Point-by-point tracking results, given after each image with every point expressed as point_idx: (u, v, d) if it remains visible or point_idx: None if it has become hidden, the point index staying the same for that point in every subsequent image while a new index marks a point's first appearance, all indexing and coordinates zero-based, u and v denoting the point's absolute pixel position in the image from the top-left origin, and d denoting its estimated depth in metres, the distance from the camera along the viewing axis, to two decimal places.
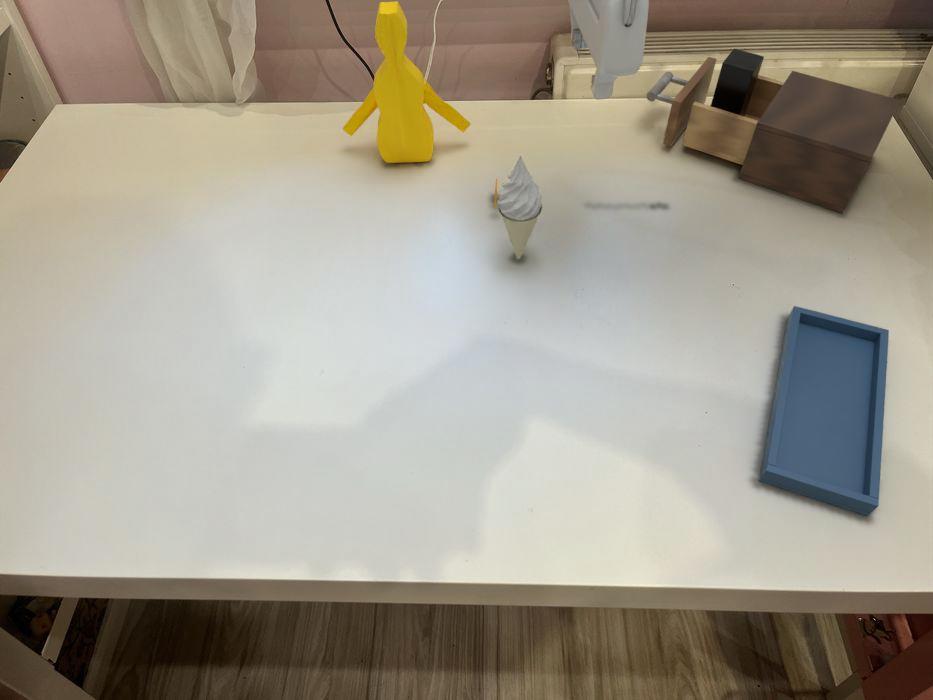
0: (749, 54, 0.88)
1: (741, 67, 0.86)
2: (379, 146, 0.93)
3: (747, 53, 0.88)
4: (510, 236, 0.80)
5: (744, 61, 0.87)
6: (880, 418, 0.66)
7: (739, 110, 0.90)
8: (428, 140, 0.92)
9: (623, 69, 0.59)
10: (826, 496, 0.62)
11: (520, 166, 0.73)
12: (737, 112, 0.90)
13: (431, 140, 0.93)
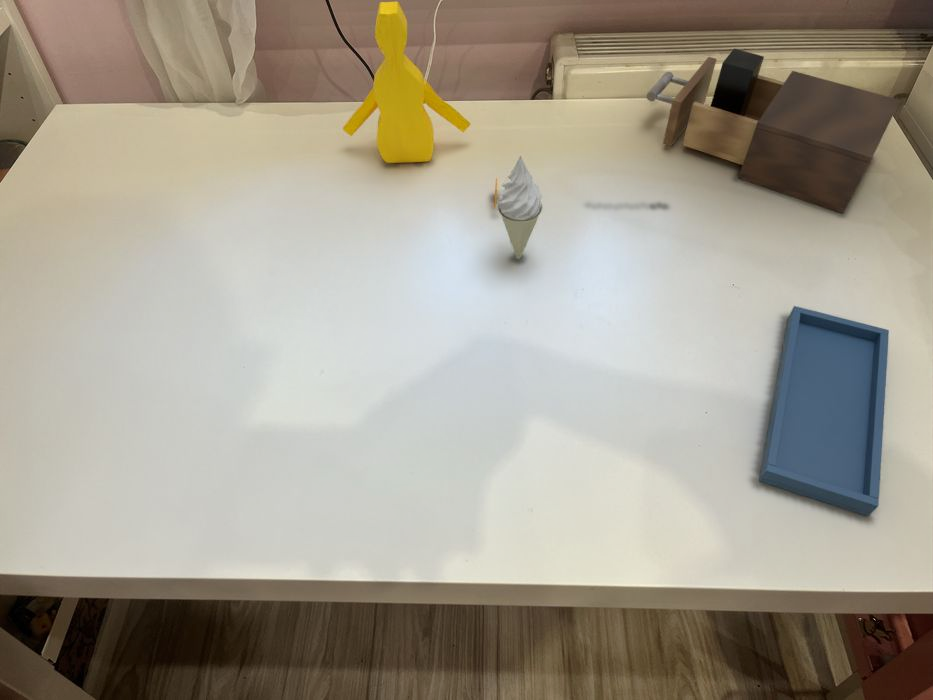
0: (749, 54, 0.88)
1: (741, 67, 0.86)
2: (379, 146, 0.93)
3: (747, 53, 0.88)
4: (510, 236, 0.80)
5: (744, 61, 0.87)
6: (880, 418, 0.66)
7: (739, 110, 0.90)
8: (428, 140, 0.92)
9: None
10: (826, 496, 0.62)
11: (520, 166, 0.73)
12: (737, 112, 0.90)
13: (431, 140, 0.93)
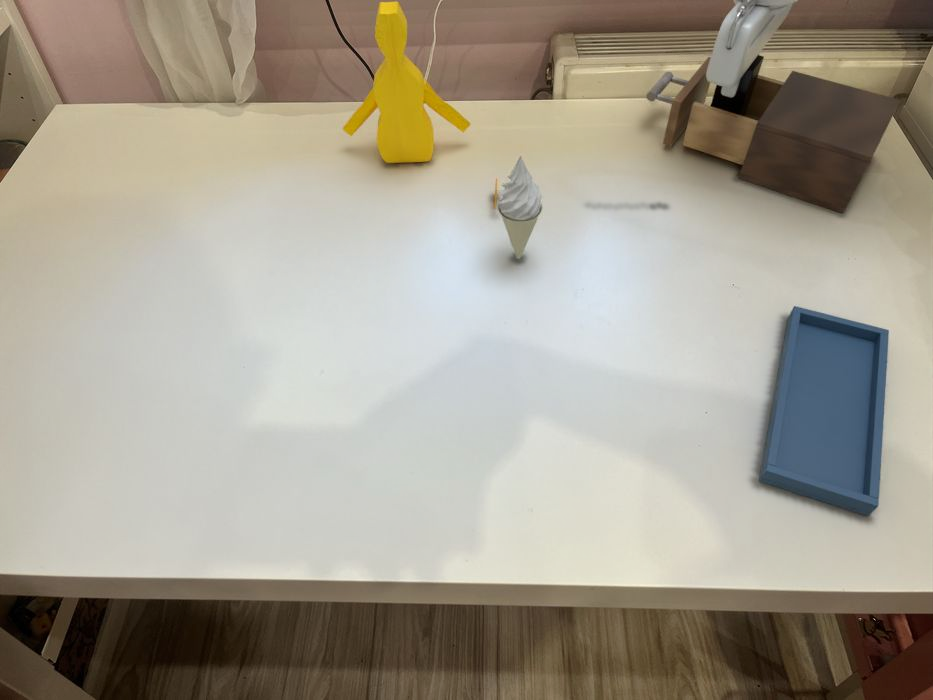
0: None
1: None
2: (379, 146, 0.93)
3: None
4: (510, 236, 0.80)
5: None
6: (880, 418, 0.66)
7: (739, 110, 0.90)
8: (428, 140, 0.92)
9: (719, 80, 0.80)
10: (826, 496, 0.62)
11: (520, 166, 0.73)
12: (737, 112, 0.90)
13: (431, 140, 0.93)
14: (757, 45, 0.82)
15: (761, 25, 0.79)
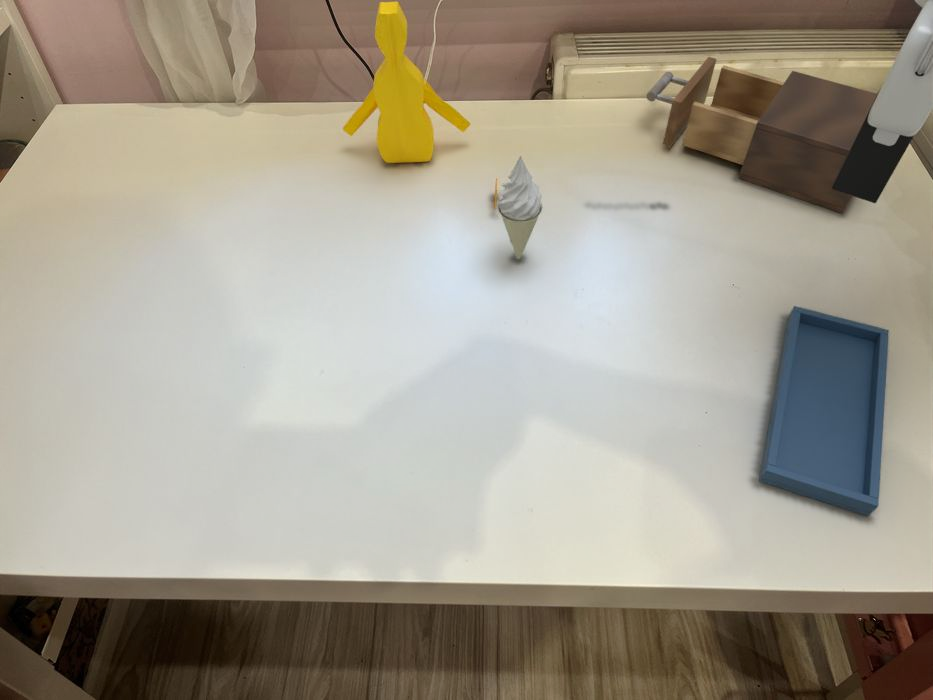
0: None
1: None
2: (379, 146, 0.93)
3: None
4: (510, 236, 0.80)
5: None
6: (880, 418, 0.66)
7: (896, 164, 0.59)
8: (428, 140, 0.92)
9: (894, 124, 0.50)
10: (826, 496, 0.62)
11: (520, 166, 0.73)
12: (891, 166, 0.60)
13: (431, 140, 0.93)
14: None
15: None
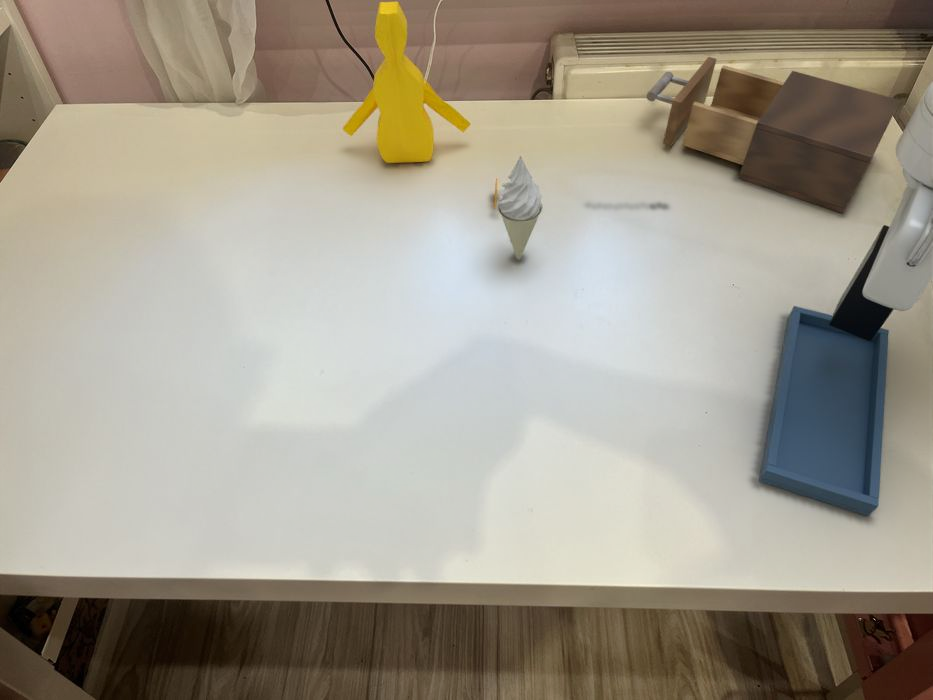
0: None
1: None
2: (379, 146, 0.93)
3: None
4: (510, 236, 0.80)
5: None
6: (880, 418, 0.66)
7: (890, 312, 0.62)
8: (428, 140, 0.92)
9: (887, 302, 0.53)
10: (826, 496, 0.62)
11: (520, 166, 0.73)
12: (885, 313, 0.62)
13: (431, 140, 0.93)
14: None
15: None
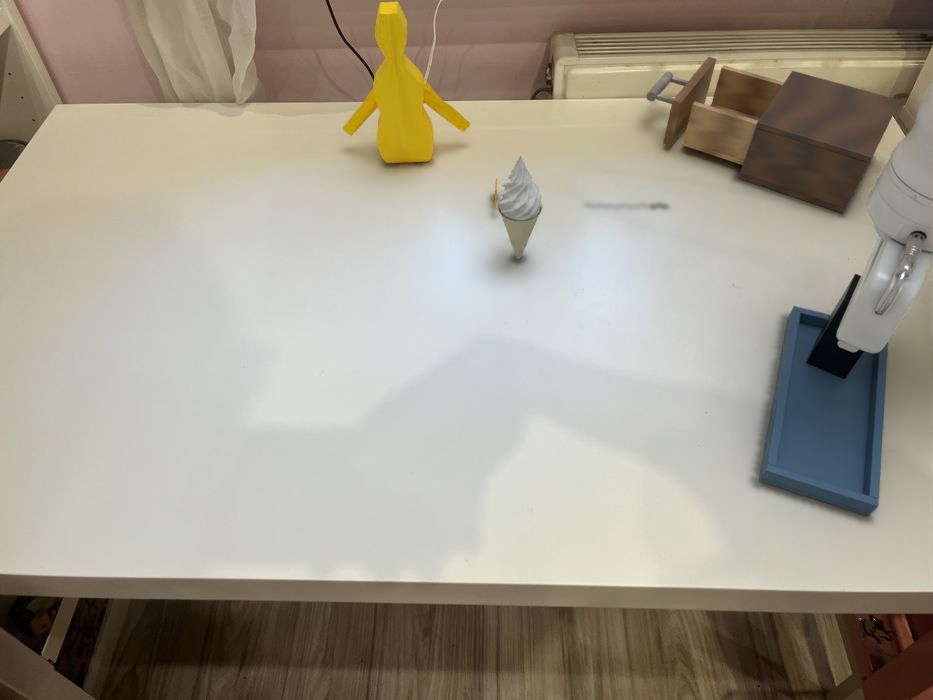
0: None
1: None
2: (379, 146, 0.93)
3: None
4: (510, 236, 0.80)
5: None
6: (880, 418, 0.66)
7: (861, 353, 0.67)
8: (428, 140, 0.92)
9: (858, 345, 0.57)
10: (826, 496, 0.62)
11: (520, 166, 0.73)
12: (857, 354, 0.67)
13: (431, 140, 0.93)
14: None
15: None
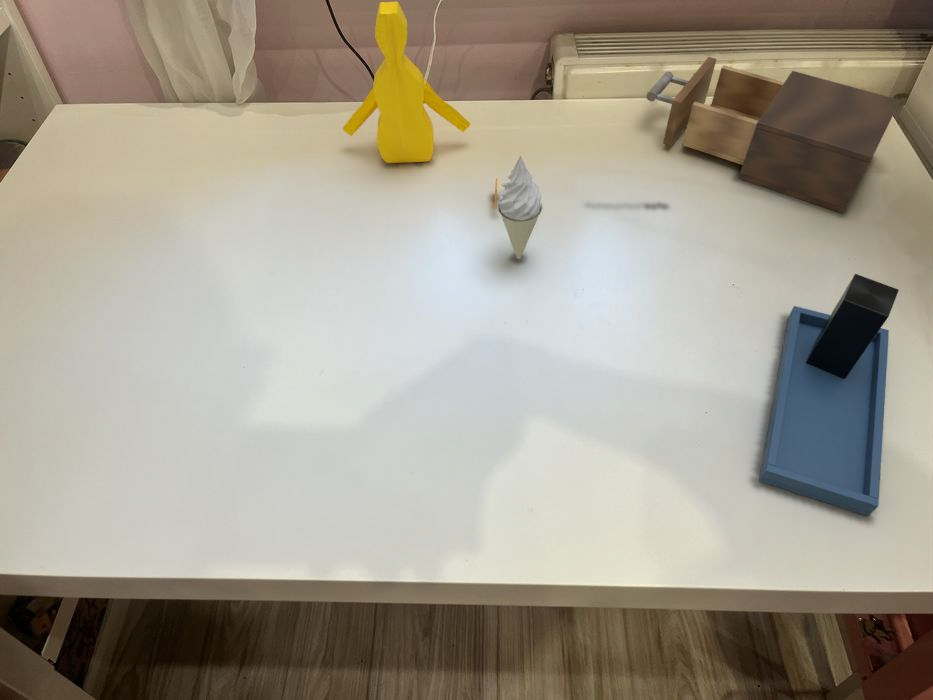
0: (878, 285, 0.65)
1: (870, 310, 0.63)
2: (379, 146, 0.93)
3: (875, 283, 0.65)
4: (510, 236, 0.80)
5: (872, 297, 0.64)
6: (880, 418, 0.66)
7: (861, 353, 0.67)
8: (428, 140, 0.92)
9: None
10: (826, 496, 0.62)
11: (520, 166, 0.73)
12: (857, 354, 0.67)
13: (431, 140, 0.93)
14: None
15: None
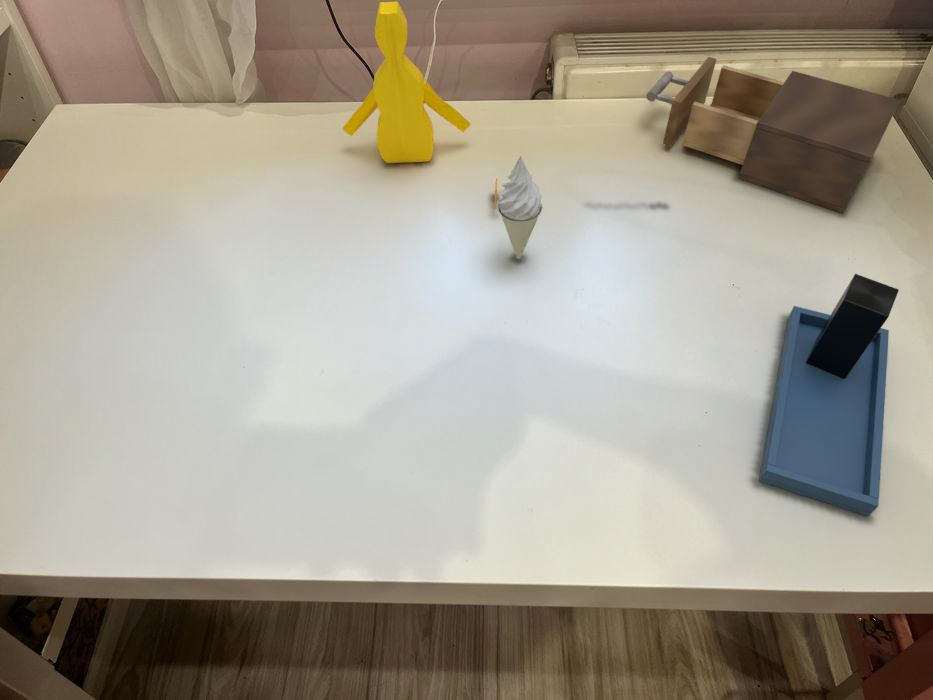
0: (878, 285, 0.65)
1: (870, 310, 0.63)
2: (379, 146, 0.93)
3: (875, 283, 0.65)
4: (510, 236, 0.80)
5: (872, 297, 0.64)
6: (880, 418, 0.66)
7: (861, 353, 0.67)
8: (428, 140, 0.92)
9: None
10: (826, 496, 0.62)
11: (520, 166, 0.73)
12: (857, 354, 0.67)
13: (431, 140, 0.93)
14: None
15: None
